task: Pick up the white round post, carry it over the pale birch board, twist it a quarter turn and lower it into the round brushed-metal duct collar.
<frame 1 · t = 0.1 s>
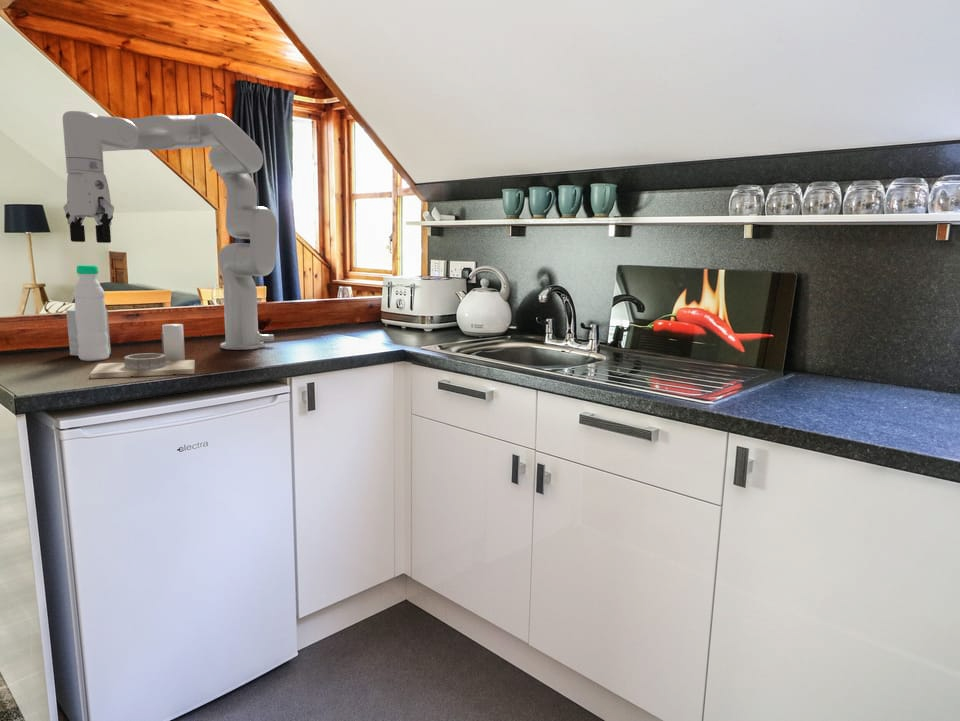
hand: (90, 242, 153), 31 cm above the countertop, tool pointing down, fingers open, 9 cm apart
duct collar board: (146, 370, 159), on the countertop
white round post: (174, 362, 171), on the countertop
milk bottle: (94, 359, 173), on the countertop
supplement box: (90, 355, 179), on the countertop
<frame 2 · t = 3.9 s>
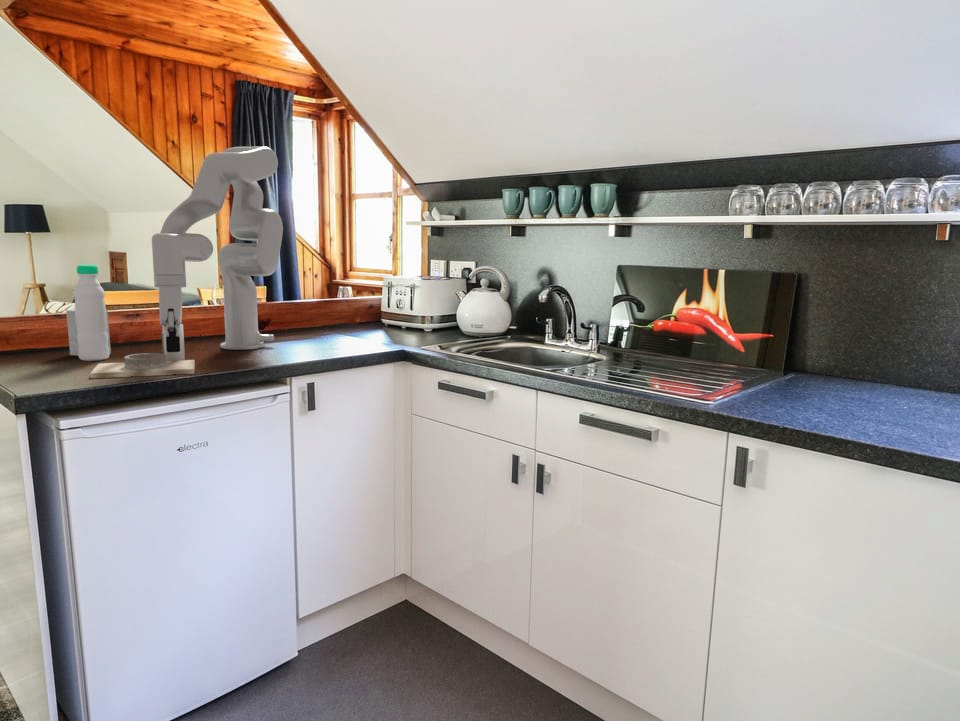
hand: (174, 349, 171), 3 cm above the countertop, tool pointing down, fingers closed on white round post, 5 cm apart
white round post: (174, 362, 171), on the countertop, touching gripper
everything else where it was.
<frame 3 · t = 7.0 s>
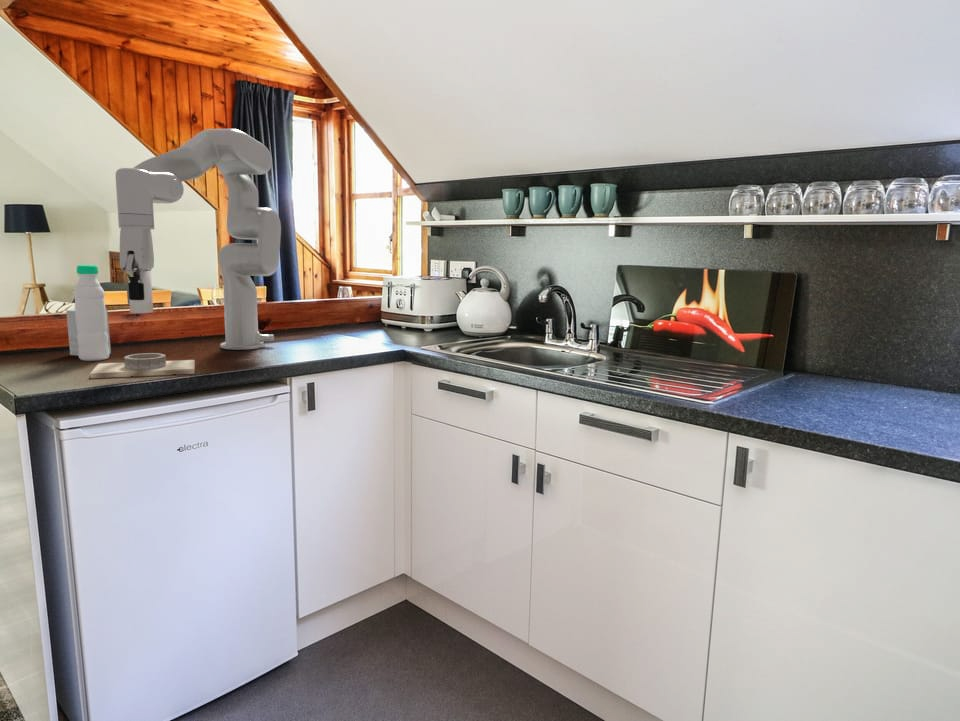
hand: (141, 298, 156), 18 cm above the countertop, tool pointing down, fingers closed on white round post, 5 cm apart
white round post: (141, 312, 156), point 15 cm above the countertop, touching gripper
everything else where it was.
when the fingers open (6 cm above the countertop, at t = 10.2 s): white round post stays where it is, resting on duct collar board.
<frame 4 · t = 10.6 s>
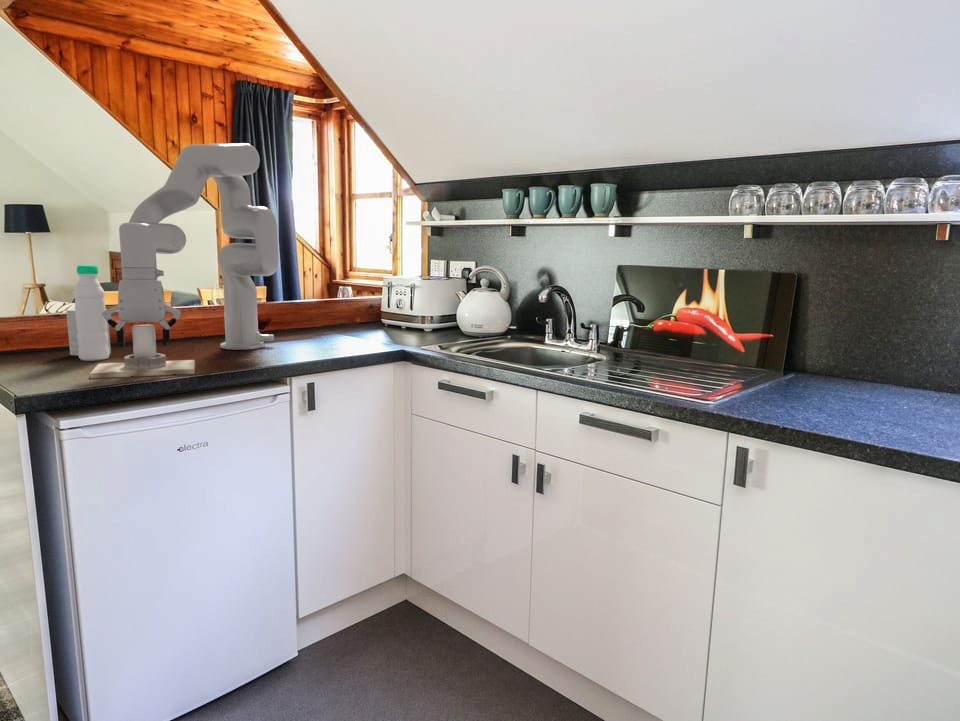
hand: (144, 345, 158), 6 cm above the countertop, tool pointing down, fingers open, 9 cm apart
white round post: (145, 366, 159), point 1 cm above the countertop, touching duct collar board
everything else where it was.
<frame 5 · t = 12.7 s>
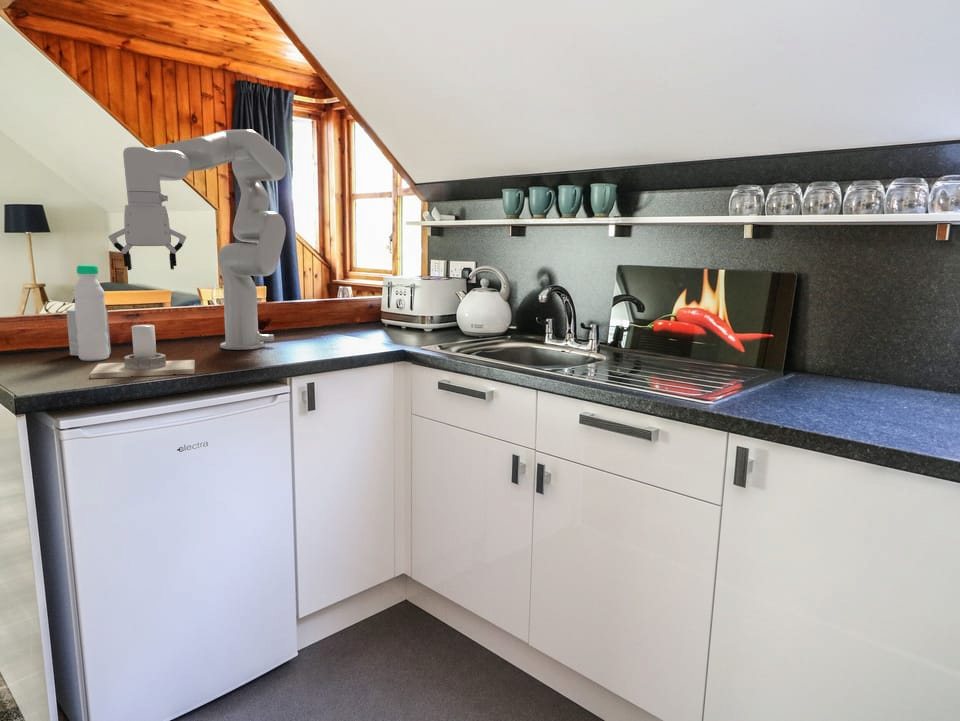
hand: (151, 269, 162), 25 cm above the countertop, tool pointing down, fingers open, 9 cm apart
nothing on the countertop moved.
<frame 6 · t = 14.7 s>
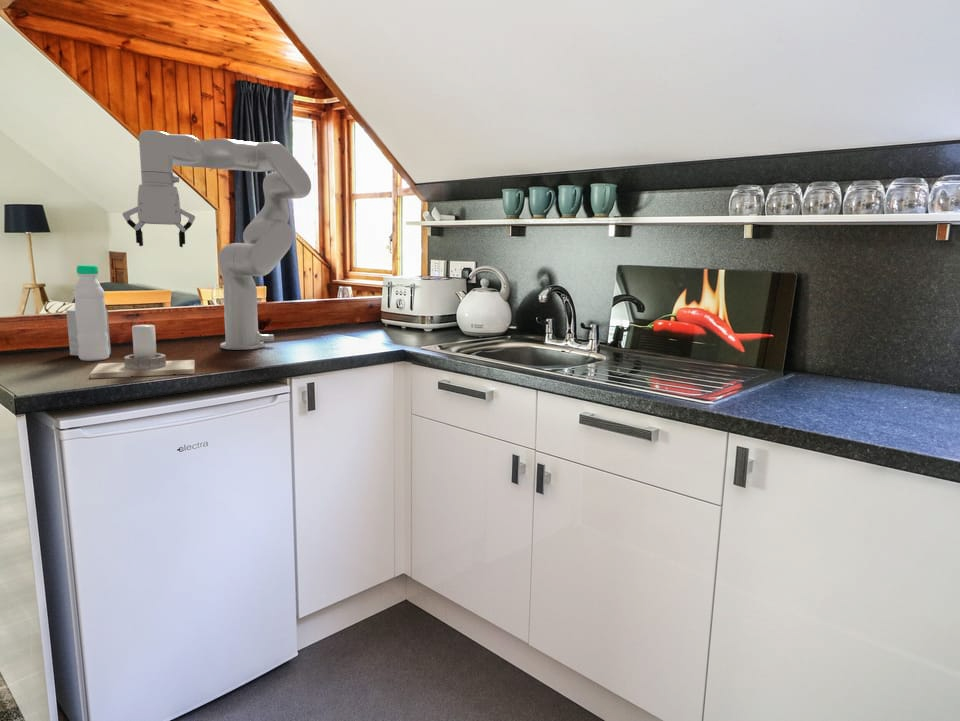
hand: (161, 246, 172), 30 cm above the countertop, tool pointing down, fingers open, 9 cm apart
nothing on the countertop moved.
at the end: white round post 0.1 cm off-centre on the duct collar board, point 1.2 cm above the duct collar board's base; white round post tilted 0°; the gripper is holding nothing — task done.
